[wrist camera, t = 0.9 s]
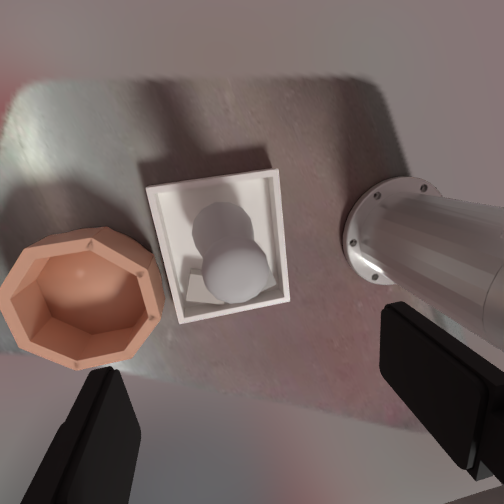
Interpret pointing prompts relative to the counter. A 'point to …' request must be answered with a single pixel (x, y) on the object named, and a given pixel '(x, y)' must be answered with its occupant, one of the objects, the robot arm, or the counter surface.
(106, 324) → the bowl
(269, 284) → the grey rectangular block
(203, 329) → the counter surface
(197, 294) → the beige rectangular block
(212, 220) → the salt shaker
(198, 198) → the tray
